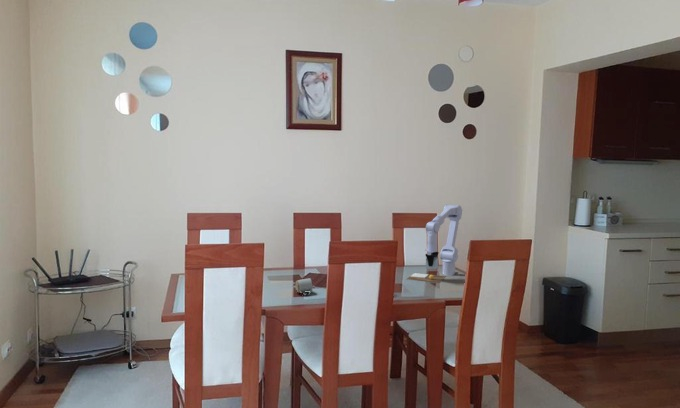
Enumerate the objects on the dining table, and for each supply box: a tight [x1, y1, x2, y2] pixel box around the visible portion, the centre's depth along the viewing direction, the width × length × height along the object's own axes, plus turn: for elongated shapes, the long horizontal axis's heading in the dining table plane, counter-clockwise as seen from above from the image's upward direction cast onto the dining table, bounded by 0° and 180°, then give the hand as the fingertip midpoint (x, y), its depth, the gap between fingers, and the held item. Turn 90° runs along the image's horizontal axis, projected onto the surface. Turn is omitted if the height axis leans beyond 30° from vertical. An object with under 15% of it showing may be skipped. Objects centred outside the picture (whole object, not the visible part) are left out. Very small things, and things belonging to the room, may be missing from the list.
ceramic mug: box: [294, 277, 313, 294], centre depth 251 cm, size 11×8×8 cm
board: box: [405, 274, 447, 284], centre depth 283 cm, size 18×20×1 cm
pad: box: [409, 272, 430, 278], centre depth 288 cm, size 9×9×1 cm
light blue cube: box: [425, 256, 439, 270], centre depth 278 cm, size 6×6×6 cm
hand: (431, 265), depth 278 cm, fingers closed on light blue cube, 6 cm apart
